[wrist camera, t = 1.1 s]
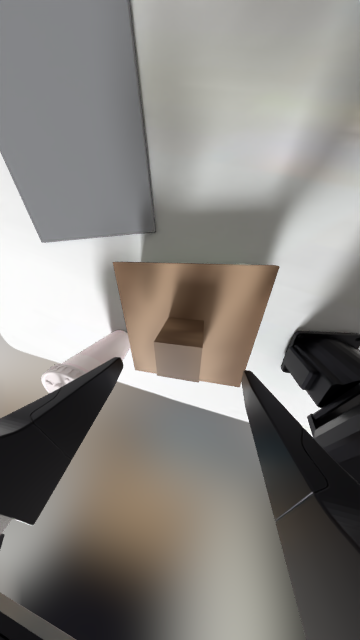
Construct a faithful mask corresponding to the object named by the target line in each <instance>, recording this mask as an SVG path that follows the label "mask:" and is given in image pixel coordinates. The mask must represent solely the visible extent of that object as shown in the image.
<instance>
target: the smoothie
mask: <svg viewBox="0 0 360 640" xmlns="http://www.w3.org/2000/svg"><path fill="white" fill-rule="evenodd" d="M129 349H130V343H129V338H128V333H126V332H125V331H122V330H116V331H114V332H112V333H111V334H109V335H107V336H106V337H104V338H102V339H101V340H99V341H98V342H96V343H94V344H93V345H91V346H89V347H88V348H86V349H85V350H83V351H81V352H80V353H78V354H76V355H75V356H73V357H71V358H70V359H68V360H67V361H65V362H63V363H62V364H55V365H53V366H52V367H51V368H50V369H48V370H47V371H46V372H44V373H43V374H42V377H41V380H42V384H43V386H44V387H45V389H46V390H47V391H48V392H49V393H51V392H53V391H55V390H57V389H59V388H60V387H63V386H64V385H66V384H68V383H69V382H71V381H73V380H75V379H77V378H78V377H80V376H82V375H84V374H85V373H87V372H89V371H91V370H93V369H94V368H96V367H98V366H100V365H102V364H103V363H105V362H107V361H109V360H110V359H112V358H114V357H120V358H121V359H122V361H123V359H124V357H125V356H126V354H127V352H128V351H129Z"/></svg>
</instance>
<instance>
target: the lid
mask: <svg viewBox="0 0 360 640" xmlns="http://www.w3.org/2000/svg"><path fill="white" fill-rule="evenodd" d="M113 266H114V271H115V276H116V280H117V285H118V290H119V295H120V300H121V304H122V309H123V314H124V319H125V323H126V328H127V333H128V338H129V343H130V347H131V352H132V357H133V362H134V367H135V370H138V371H144V372H150V373H156V374H157V376H163V377H169V378H175V379H181V380H187V381H193V382H199V381H205V382H211V383H217V384H223V385H229V386H235V387H240V384H241V381H242V375H243V371H244V370H245V369H246V366H247V363H248V360H249V357H250V354H251V351H252V348H253V345H254V342H255V339H256V336H257V333H258V330H259V327H260V324H261V321H262V318H263V315H264V312H265V309H266V306H267V303H268V300H269V297H270V294H271V291H272V288H273V285H274V282H275V279H276V276H277V272H278V269H279V266H276V265H239V264H195V263H150V262H113Z"/></svg>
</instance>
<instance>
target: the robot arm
mask: <svg viewBox="0 0 360 640" xmlns="http://www.w3.org/2000/svg"><path fill="white" fill-rule="evenodd" d="M299 335H301V336H299ZM359 346H360V334H354V333H331V332H309V331H298V332H296V333H295V334H294V336H293V339H292V341H291V344H290V346H289V348H288V350H287V352H286V355H285V357H284V360H283V364H282V366H281V369H282V371H283V372H286V373H291V375H292V376H293V378H294V379H295V380H296V382H297V383H298V385H299V386H300V388H301V389H303V390H306V391H307V392H308V394H309V395H310V397H311V398H312V399H313V401H314V402H315V404H316V405H317V406H318V407H320V408H321V409H320V410H318V411H317V412H315V413H314V414H310V415H309V416H307V418H308V422H309V425H310V428H311V431H312V435H313V437H312V436H311V435H310V434H309V433H308V432H307V431H306V430H305V429H304V428H303V427H302V426H301V425H300V423H299V422H298V421H297V420H296V419H295V418H294V417H293V416H292V415H291V414H290V413H289V412H288V411H287V409H286V408H285V407H284V406H283V405H282V404H281V403H280V402H279V401H278V400H277V399H276V398H275V397H274V395H273V394H272V393H271V392H270V391H269V390H268V389H267V388H266V387H265V386H264V385H263V384H262V382H261V381H260V380H259V379H258V378H257V377H256V376H255V375H254V374H253V373H252V372H251V371H247V370H244V371H243V375H242V388H243V395H244V401H245V407H246V412H247V415H248V419H249V423H250V427H251V431H252V434H253V438H254V442H255V446H256V450H257V454H258V457H259V461H260V465H261V469H262V473H263V477H264V480H265V484H266V488H267V492H268V495H269V499H270V503H271V507H272V511H273V515H274V518H275V521H276V526H277V530H278V534H279V538H280V541H281V545H282V549H283V553H284V557H285V561H286V565H287V569H288V572H289V576H290V580H291V584H292V588H293V591H294V595H295V599H296V603H297V606H298V610H299V614H300V618H301V622H302V626H303V630H304V633H305V637H306V640H360V350H359V349H358V347H359ZM122 369H123V362H122V359H121V358H120V357H114V358H112V359H110V360H109V361H107V362H105V363H103V364H102V365H100V366H98V367H96V368H94V369H93V370H91V371H89V372H87V373H85V374H84V375H82V376H80V377H78V378H77V379H75V380H73V381H71V382H69V383H68V384H66V385H64V386H63V387H60V388H59V389H57V390H55V391H53V392H51V393H50V394H48V395H46V396H44V397H42V398H40V399H38V400H36V401H34V402H32V403H30V404H28V405H26V406H24V407H22V408H21V409H18V410H16V411H15V412H12V413H11V414H9V415H7V416H5V417H2V418H0V548H1V545H2V541H3V538H4V534H2V532H3V531H4V529H5V528H6V527H7V525H8V524H9V523H10V521H11V520H12V519H15V520H18V521H21V522H23V523H27V524H29V525H32V526H33V525H34V523H35V522H36V520H37V519H38V517H39V515H40V513H41V512H42V510H43V508H44V507H45V505H46V503H47V501H48V500H49V498H50V496H51V494H52V493H53V491H54V489H55V488H56V486H57V484H58V482H59V481H60V479H61V477H62V476H63V474H64V472H65V470H66V469H67V467H68V465H69V464H70V462H71V460H72V458H73V457H74V455H75V453H76V451H77V450H78V448H79V446H80V445H81V443H82V441H83V439H84V438H85V436H86V434H87V432H88V431H89V429H90V427H91V426H92V424H93V422H94V421H95V419H96V417H97V415H98V414H99V412H100V410H101V408H102V407H103V405H104V403H105V402H106V400H107V398H108V396H109V395H110V393H111V391H112V390H113V388H114V386H115V384H116V382H117V380H118V377H119V375H120V373H121V371H122ZM0 640H76V639H74V638H72V637H71V636H69V635H68V634H66V633H64V632H63V631H61V630H60V629H58V628H56V627H55V626H53V625H52V624H50V623H48V622H47V621H45V620H44V619H42V618H40V617H39V616H37V615H35V614H34V613H32V612H31V611H29V610H28V609H26V608H24V607H23V606H21V605H19V604H18V603H16V602H15V601H13V600H11V599H10V598H8V597H6V596H5V595H3V594H2V593H0Z"/></svg>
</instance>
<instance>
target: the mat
mask: <svg viewBox="0 0 360 640" xmlns="http://www.w3.org/2000/svg"><path fill="white" fill-rule="evenodd" d="M0 152H1V154H2V156H3V159H4V161H5V163H6V165H7V167H8V170H9V172H10V174H11V176H12V178H13V181H14V183H15V185H16V187H17V189H18V192H19V194H20V196H21V198H22V200H23V202H24V205H25V207H26V209H27V211H28V213H29V216H30V218H31V220H32V222H33V224H34V227H35V229H36V231H37V233H38V235H39V238H40V240H41V242H44V243H46V242H56V241H66V240H77V239H87V238H98V237H108V236H118V235H129V234H139V233H150V232H156V229H155V220H154V212H153V203H152V194H151V185H150V177H149V168H148V159H147V150H146V142H145V133H144V124H143V115H142V107H141V98H140V89H139V80H138V72H137V63H136V54H135V45H134V37H133V28H132V19H131V10H130V2H129V0H0Z"/></svg>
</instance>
